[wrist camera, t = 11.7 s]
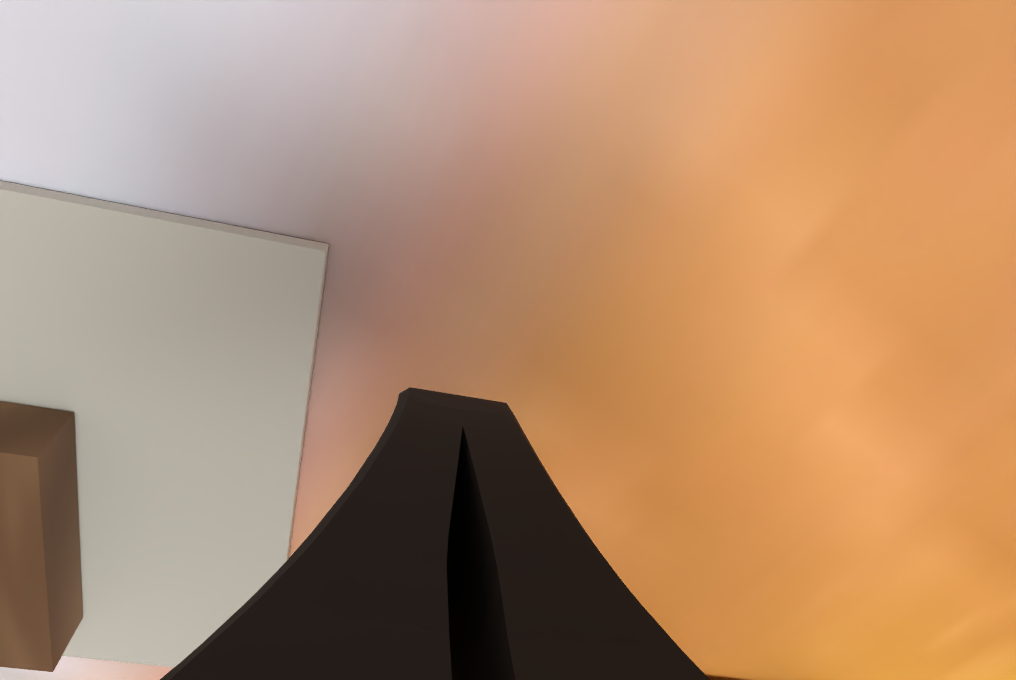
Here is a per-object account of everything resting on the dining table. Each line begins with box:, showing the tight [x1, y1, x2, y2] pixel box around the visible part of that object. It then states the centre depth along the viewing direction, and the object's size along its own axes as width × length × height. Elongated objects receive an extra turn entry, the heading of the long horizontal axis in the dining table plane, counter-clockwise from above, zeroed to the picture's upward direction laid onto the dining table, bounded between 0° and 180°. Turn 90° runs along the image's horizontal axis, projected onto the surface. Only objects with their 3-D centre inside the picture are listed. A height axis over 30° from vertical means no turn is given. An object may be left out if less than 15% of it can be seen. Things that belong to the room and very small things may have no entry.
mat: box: [0, 181, 329, 667], centre depth 21 cm, size 16×16×1 cm
